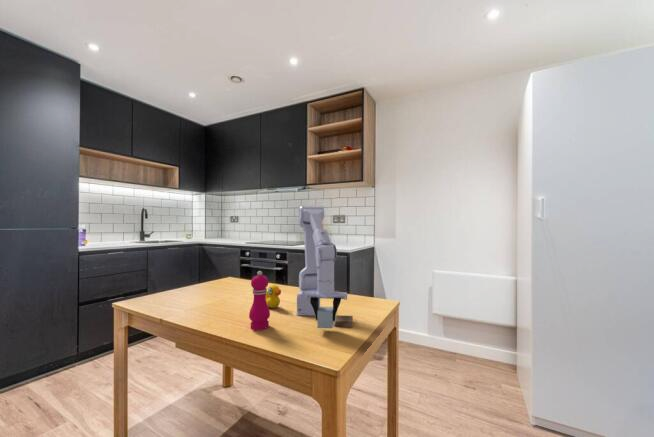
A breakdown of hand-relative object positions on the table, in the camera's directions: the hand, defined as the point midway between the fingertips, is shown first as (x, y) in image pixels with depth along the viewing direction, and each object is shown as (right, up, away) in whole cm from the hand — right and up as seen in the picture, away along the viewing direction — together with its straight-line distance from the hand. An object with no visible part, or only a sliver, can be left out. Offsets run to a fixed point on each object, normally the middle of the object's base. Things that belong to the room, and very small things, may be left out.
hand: (325, 319), depth 93 cm
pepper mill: (-24, -4, +4) cm, 24 cm away
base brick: (+7, -4, +7) cm, 11 cm away
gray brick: (0, -2, 0) cm, 2 cm away
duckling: (-23, -5, +26) cm, 35 cm away
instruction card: (+1, -4, +10) cm, 11 cm away
